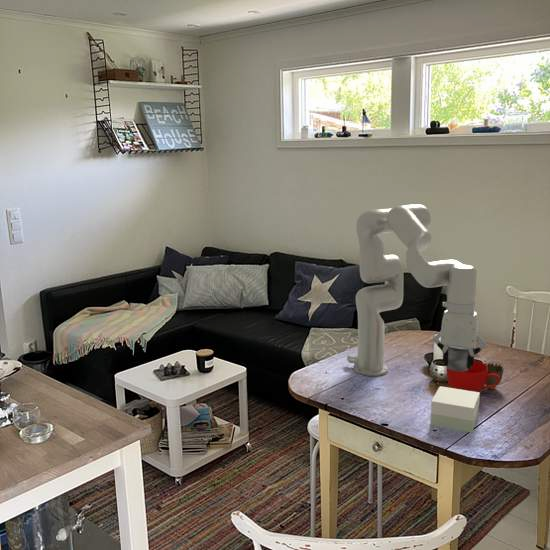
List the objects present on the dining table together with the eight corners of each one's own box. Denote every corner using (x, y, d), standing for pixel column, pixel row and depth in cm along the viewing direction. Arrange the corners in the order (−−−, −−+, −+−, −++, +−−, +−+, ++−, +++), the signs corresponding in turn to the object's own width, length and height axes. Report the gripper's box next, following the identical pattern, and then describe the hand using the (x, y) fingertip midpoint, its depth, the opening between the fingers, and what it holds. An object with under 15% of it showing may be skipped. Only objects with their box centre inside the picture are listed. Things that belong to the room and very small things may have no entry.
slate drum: (445, 369, 176) (446, 350, 175) (449, 362, 181) (450, 344, 180) (466, 372, 174) (467, 353, 172) (469, 365, 179) (470, 346, 178)
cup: (503, 394, 199) (505, 371, 197) (480, 392, 200) (481, 370, 198) (500, 385, 206) (501, 363, 204) (477, 383, 207) (479, 361, 205)
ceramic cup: (493, 408, 188) (495, 378, 186) (440, 397, 197) (441, 368, 195) (502, 393, 199) (504, 365, 197) (451, 383, 208) (453, 356, 206)
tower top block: (430, 413, 178) (431, 401, 177) (439, 398, 188) (439, 386, 187) (473, 421, 173) (473, 408, 172) (479, 404, 183) (479, 392, 182)
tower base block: (430, 426, 178) (430, 414, 178) (438, 410, 189) (438, 398, 188) (472, 434, 173) (472, 421, 172) (477, 417, 184) (478, 404, 183)
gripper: (428, 307, 174) (425, 366, 178) (490, 314, 166) (486, 375, 170) (433, 301, 180) (431, 358, 184) (493, 307, 173) (490, 366, 177)
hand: (458, 365), depth 177 cm, fingers closed on slate drum, 6 cm apart
